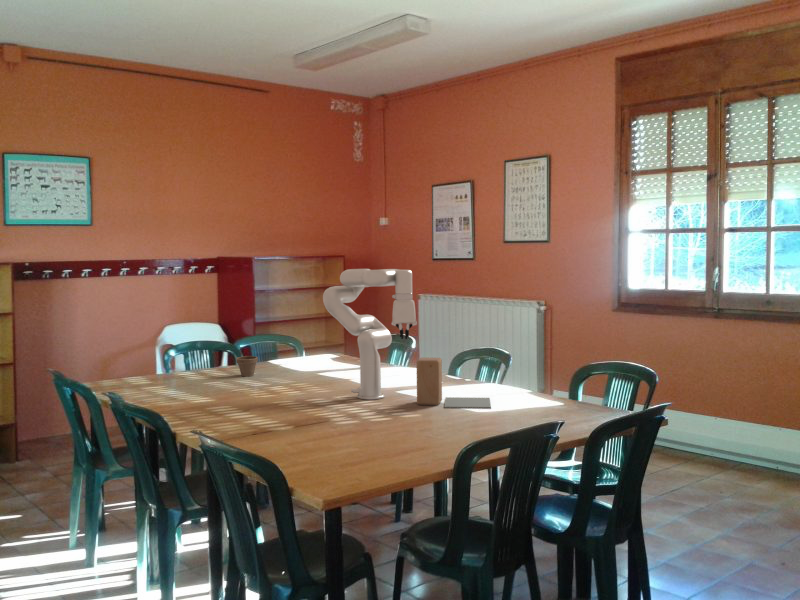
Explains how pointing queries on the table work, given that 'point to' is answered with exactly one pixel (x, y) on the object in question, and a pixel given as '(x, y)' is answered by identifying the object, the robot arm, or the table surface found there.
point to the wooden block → (429, 381)
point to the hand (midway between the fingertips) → (404, 338)
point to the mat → (467, 402)
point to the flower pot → (247, 365)
